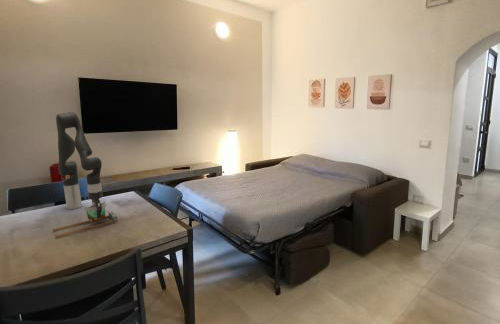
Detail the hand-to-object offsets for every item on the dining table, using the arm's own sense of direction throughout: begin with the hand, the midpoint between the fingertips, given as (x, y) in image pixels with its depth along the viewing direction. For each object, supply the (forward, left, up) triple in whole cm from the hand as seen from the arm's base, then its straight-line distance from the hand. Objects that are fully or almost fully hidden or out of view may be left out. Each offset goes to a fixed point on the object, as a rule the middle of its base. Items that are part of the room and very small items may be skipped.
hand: (98, 216), depth 175 cm
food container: (+1, 0, -3) cm, 3 cm away
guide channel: (0, -6, -5) cm, 8 cm away
